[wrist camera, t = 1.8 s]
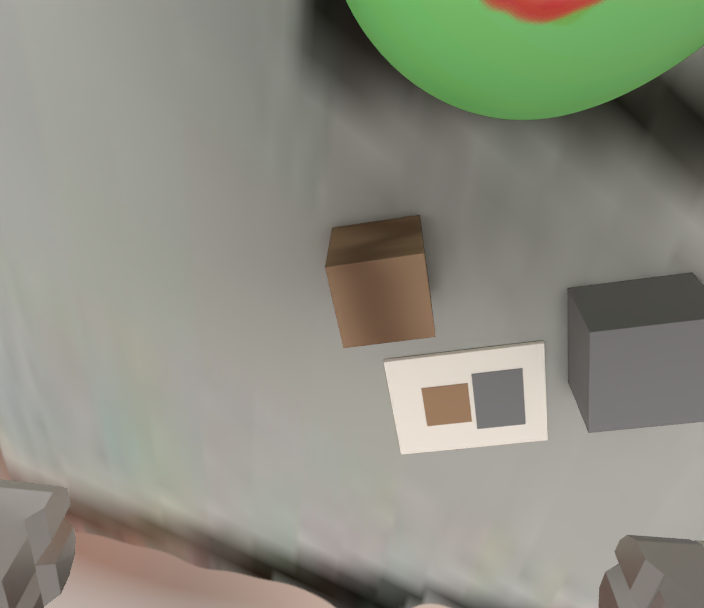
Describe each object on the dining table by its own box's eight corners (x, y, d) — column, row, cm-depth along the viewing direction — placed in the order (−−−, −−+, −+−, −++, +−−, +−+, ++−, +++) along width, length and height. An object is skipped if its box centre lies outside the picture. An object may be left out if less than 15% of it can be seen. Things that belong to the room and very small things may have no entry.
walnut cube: (419, 214, 36) (423, 253, 32) (429, 290, 38) (435, 336, 34) (332, 227, 36) (325, 267, 32) (348, 301, 39) (343, 348, 35)
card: (543, 340, 40) (544, 344, 39) (546, 436, 44) (548, 440, 43) (383, 359, 41) (383, 363, 41) (401, 451, 45) (401, 455, 44)
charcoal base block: (690, 271, 37) (731, 316, 33) (681, 368, 40) (715, 420, 36) (566, 286, 38) (589, 332, 34) (567, 380, 41) (588, 432, 37)
